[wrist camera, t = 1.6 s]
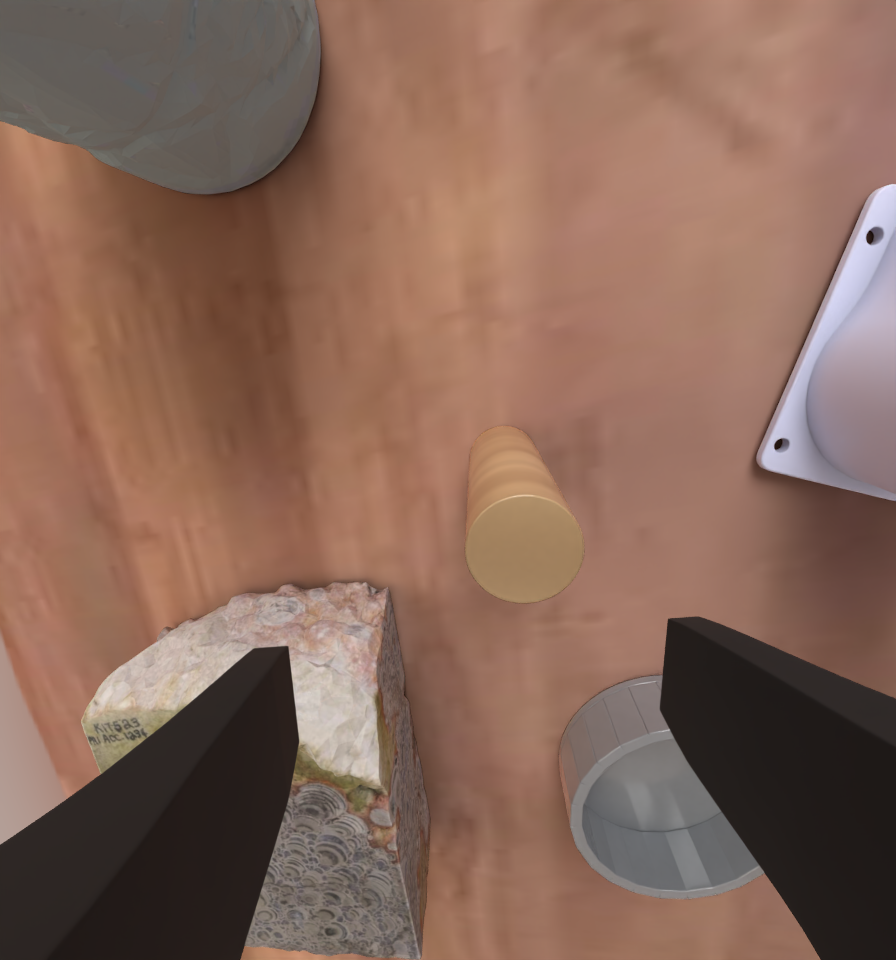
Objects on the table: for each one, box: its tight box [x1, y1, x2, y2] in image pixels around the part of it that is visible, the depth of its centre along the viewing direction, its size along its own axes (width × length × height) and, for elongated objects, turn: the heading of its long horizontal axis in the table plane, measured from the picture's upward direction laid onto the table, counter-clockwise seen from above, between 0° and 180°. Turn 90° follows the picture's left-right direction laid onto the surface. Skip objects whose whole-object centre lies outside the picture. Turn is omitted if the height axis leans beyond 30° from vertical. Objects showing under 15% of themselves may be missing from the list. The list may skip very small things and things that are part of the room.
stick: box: [465, 426, 584, 604], centre depth 15 cm, size 3×3×8 cm
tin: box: [559, 675, 764, 899], centre depth 21 cm, size 9×9×3 cm
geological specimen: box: [81, 582, 431, 960], centre depth 20 cm, size 11×6×15 cm
